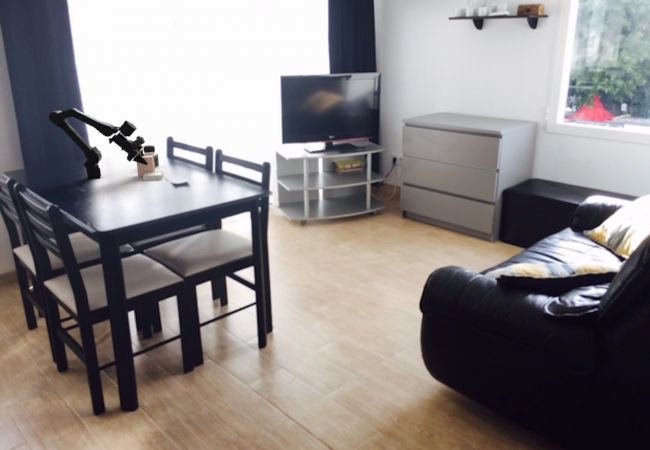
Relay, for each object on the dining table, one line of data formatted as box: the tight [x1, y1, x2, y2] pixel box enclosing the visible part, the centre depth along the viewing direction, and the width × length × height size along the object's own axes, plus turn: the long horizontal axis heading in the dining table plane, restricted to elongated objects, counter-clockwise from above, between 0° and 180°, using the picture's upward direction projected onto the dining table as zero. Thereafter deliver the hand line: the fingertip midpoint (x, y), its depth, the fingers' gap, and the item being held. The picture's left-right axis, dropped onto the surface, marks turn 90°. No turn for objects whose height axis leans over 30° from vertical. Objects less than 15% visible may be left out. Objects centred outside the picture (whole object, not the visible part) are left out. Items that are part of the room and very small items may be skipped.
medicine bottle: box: [142, 144, 160, 169], centre depth 316 cm, size 7×7×12 cm
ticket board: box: [142, 171, 165, 181], centre depth 291 cm, size 9×8×3 cm
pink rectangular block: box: [136, 156, 156, 177], centre depth 295 cm, size 8×4×10 cm, turn 98°
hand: (148, 163), depth 295 cm, fingers closed on pink rectangular block, 4 cm apart
